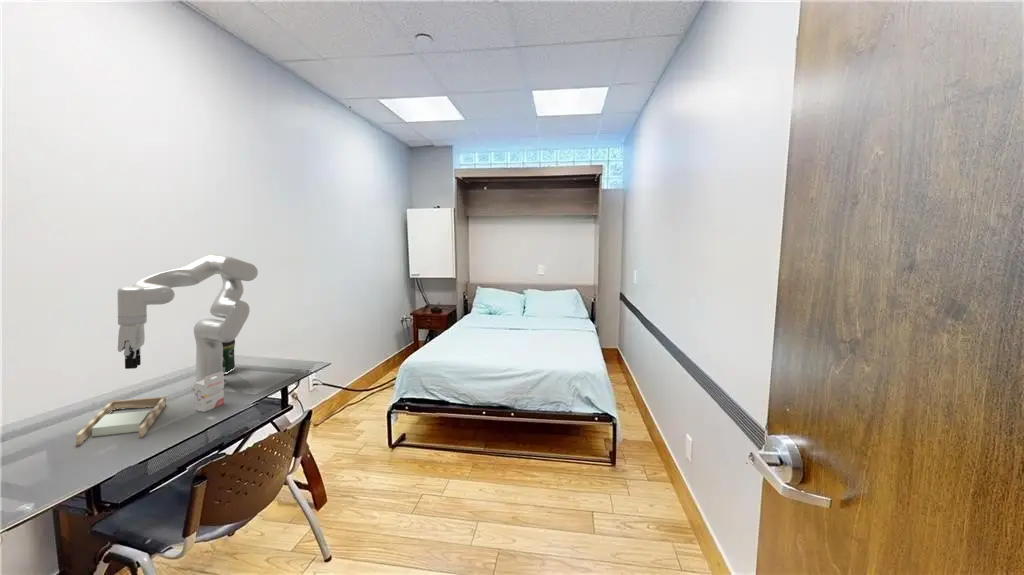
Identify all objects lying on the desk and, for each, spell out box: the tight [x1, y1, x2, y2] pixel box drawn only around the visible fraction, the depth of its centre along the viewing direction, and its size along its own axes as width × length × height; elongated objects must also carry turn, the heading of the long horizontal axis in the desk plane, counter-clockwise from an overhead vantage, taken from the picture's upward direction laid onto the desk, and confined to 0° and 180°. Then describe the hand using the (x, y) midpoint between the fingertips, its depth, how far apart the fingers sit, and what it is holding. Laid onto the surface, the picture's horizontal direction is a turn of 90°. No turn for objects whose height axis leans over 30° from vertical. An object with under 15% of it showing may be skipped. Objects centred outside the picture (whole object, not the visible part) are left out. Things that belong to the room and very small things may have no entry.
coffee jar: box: [222, 338, 236, 373], centre depth 186 cm, size 10×8×19 cm
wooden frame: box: [75, 396, 167, 446], centre depth 136 cm, size 26×16×4 cm, turn 30°
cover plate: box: [91, 410, 151, 437], centre depth 133 cm, size 10×12×4 cm
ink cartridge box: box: [194, 371, 225, 413], centre depth 153 cm, size 9×5×15 cm, turn 168°
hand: (132, 366), depth 140 cm, fingers open, 2 cm apart
